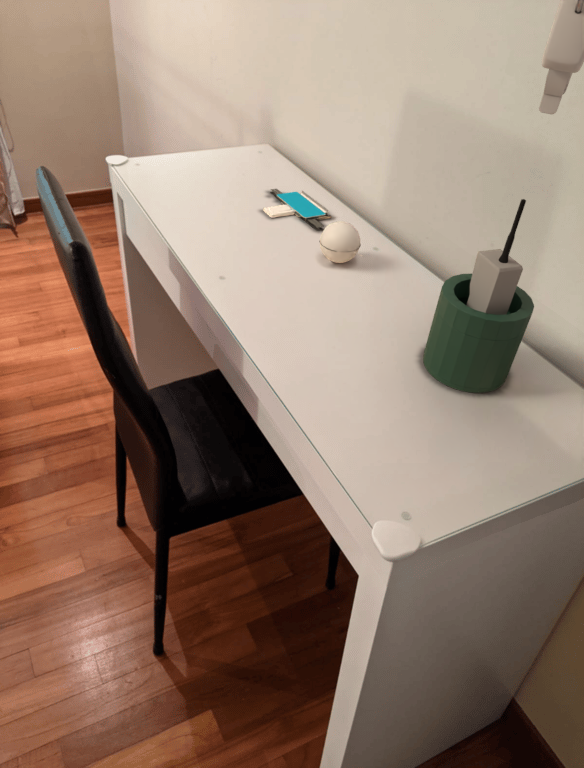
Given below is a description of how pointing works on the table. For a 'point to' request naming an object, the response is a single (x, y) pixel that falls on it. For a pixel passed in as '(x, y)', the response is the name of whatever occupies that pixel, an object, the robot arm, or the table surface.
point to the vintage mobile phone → (495, 276)
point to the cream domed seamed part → (340, 242)
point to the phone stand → (298, 208)
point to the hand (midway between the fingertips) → (552, 102)
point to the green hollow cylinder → (474, 339)
